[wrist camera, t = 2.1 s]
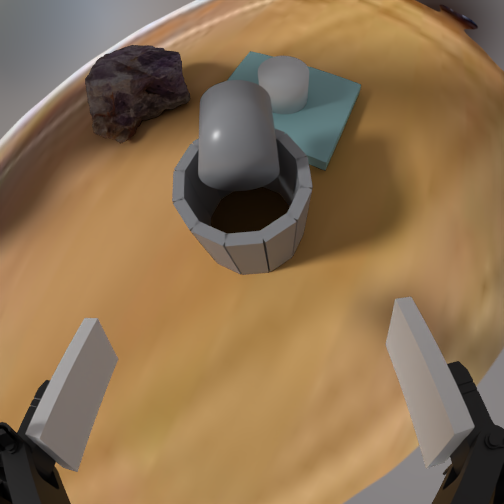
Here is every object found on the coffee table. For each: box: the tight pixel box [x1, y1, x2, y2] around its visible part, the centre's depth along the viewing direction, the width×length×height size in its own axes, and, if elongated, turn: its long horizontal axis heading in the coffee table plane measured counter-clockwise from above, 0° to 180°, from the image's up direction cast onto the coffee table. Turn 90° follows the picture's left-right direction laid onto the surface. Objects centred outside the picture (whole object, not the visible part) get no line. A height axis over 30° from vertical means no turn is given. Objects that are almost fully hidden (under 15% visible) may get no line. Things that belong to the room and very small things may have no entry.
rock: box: [85, 45, 190, 144], centre depth 31 cm, size 12×9×10 cm
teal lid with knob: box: [227, 51, 361, 170], centre depth 30 cm, size 14×12×6 cm
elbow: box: [172, 80, 312, 275], centre depth 24 cm, size 11×9×12 cm
